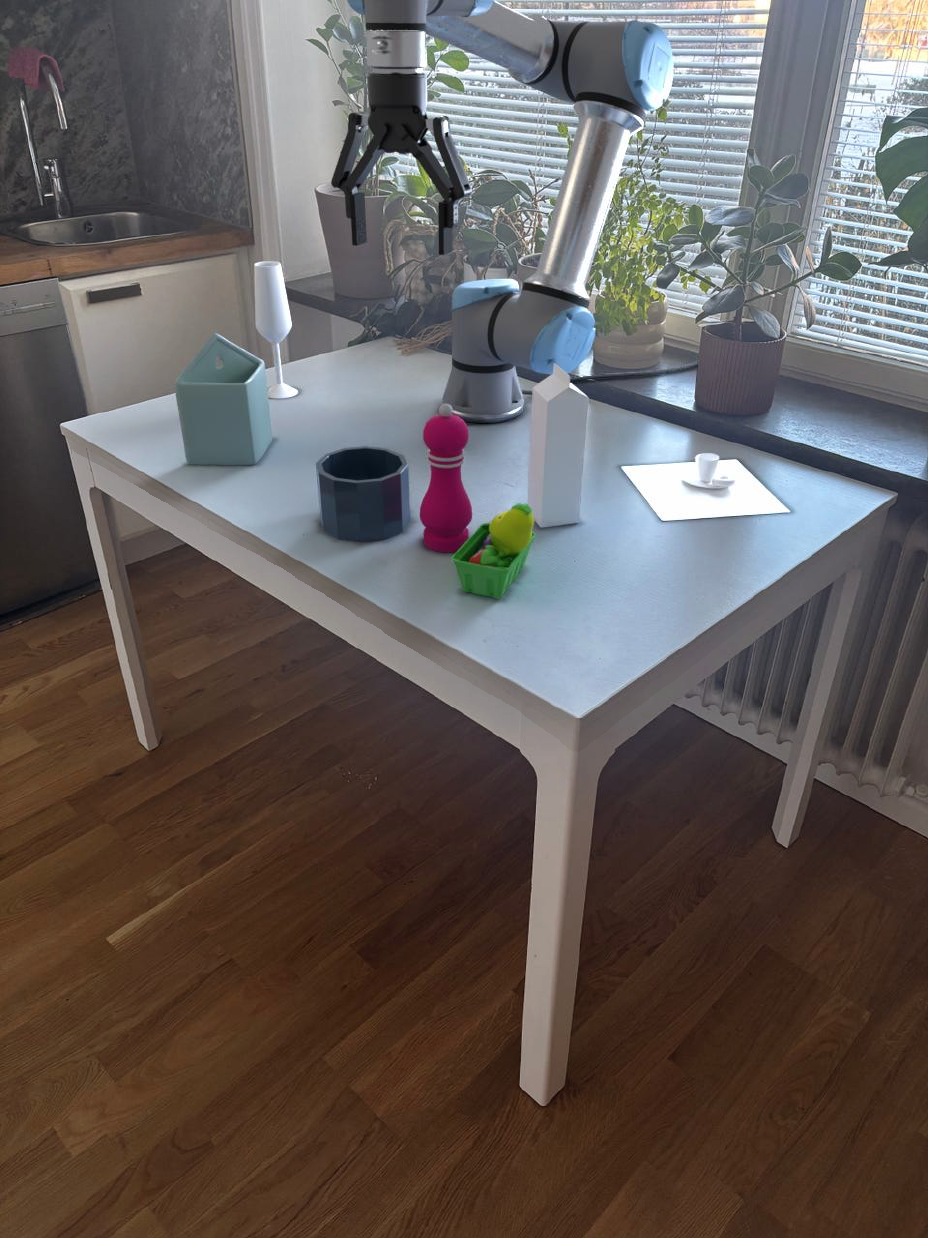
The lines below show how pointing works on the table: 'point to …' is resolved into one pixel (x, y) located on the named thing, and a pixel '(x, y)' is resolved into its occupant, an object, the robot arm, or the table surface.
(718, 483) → the teacup and saucer
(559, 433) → the milk
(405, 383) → the table surface
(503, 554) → the fruit basket
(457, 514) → the pepper mill
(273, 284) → the champagne flute
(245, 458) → the planter
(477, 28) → the robot arm
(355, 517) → the crock
